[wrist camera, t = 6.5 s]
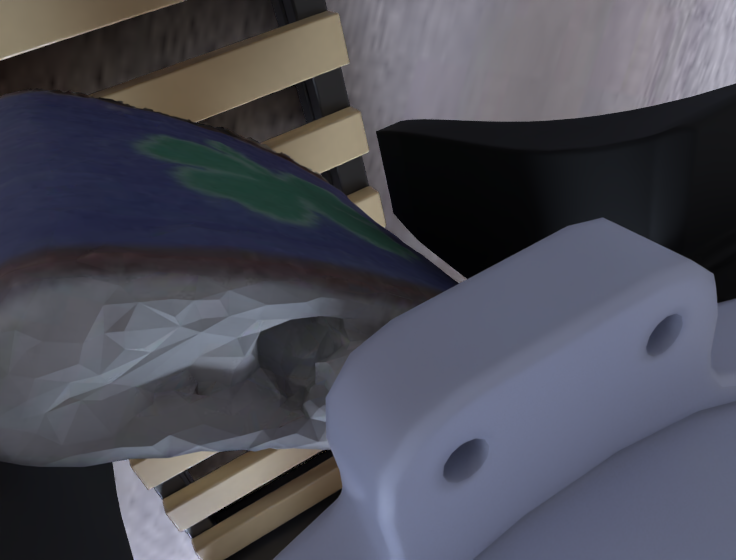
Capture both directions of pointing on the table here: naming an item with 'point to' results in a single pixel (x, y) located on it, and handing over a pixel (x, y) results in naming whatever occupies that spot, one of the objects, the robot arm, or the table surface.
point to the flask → (175, 286)
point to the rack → (304, 144)
